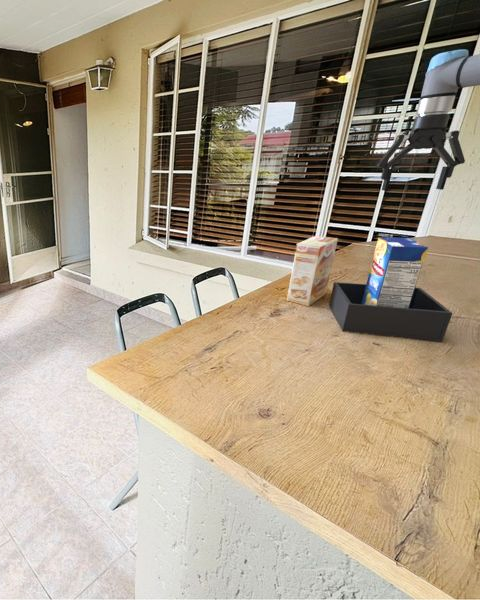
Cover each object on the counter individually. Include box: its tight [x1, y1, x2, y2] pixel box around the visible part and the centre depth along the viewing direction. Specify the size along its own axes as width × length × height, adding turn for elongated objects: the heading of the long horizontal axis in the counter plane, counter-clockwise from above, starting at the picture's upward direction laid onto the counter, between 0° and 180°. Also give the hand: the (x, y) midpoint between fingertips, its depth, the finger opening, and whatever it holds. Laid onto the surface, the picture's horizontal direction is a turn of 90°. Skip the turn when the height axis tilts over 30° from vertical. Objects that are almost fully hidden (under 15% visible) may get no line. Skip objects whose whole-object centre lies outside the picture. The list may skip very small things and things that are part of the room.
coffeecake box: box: [286, 235, 339, 307], centre depth 114 cm, size 15×7×20 cm, turn 129°
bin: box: [328, 281, 453, 343], centre depth 97 cm, size 21×19×8 cm
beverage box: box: [361, 236, 429, 308], centre depth 94 cm, size 7×11×22 cm, turn 156°
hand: (411, 189), depth 110 cm, fingers open, 13 cm apart
